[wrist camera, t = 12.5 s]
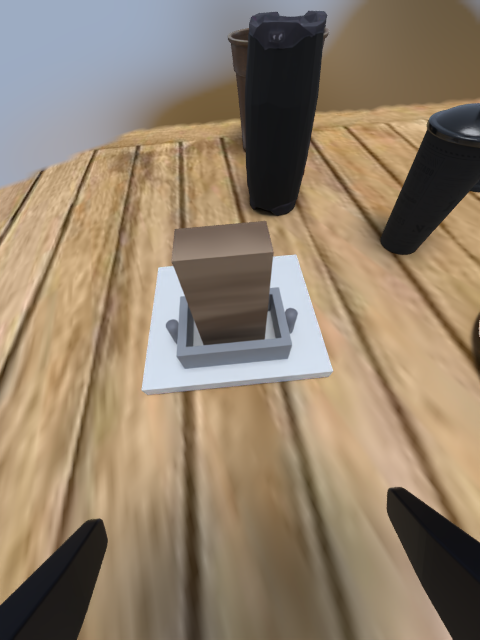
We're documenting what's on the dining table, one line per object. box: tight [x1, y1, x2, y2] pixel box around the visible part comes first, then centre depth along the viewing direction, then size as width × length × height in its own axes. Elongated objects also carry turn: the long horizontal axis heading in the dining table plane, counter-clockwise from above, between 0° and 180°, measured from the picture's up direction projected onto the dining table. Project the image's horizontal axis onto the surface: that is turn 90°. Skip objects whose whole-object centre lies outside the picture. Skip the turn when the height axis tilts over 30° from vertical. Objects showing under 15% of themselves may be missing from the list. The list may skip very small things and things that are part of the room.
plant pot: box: [228, 28, 329, 150], centre depth 45 cm, size 16×16×16 cm
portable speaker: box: [245, 11, 327, 216], centre depth 32 cm, size 9×9×20 cm
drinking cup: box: [380, 103, 480, 254], centre depth 25 cm, size 8×8×20 cm
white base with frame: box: [142, 255, 333, 395], centre depth 26 cm, size 16×18×4 cm
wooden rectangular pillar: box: [172, 221, 274, 345], centre depth 20 cm, size 4×6×12 cm, turn 95°
